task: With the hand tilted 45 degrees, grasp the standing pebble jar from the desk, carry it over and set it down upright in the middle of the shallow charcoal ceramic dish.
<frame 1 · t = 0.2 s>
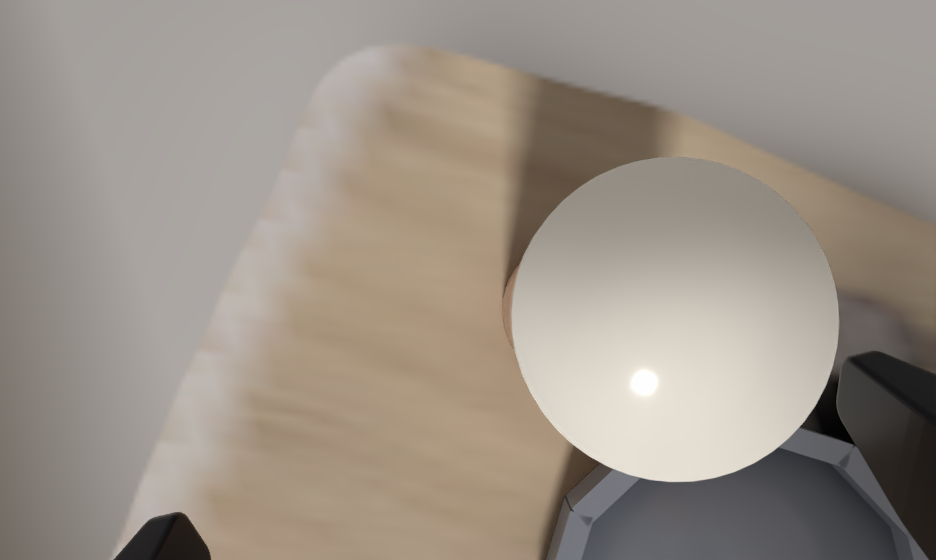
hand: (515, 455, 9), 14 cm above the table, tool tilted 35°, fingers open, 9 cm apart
pebble jar: (575, 310, 23), on the table
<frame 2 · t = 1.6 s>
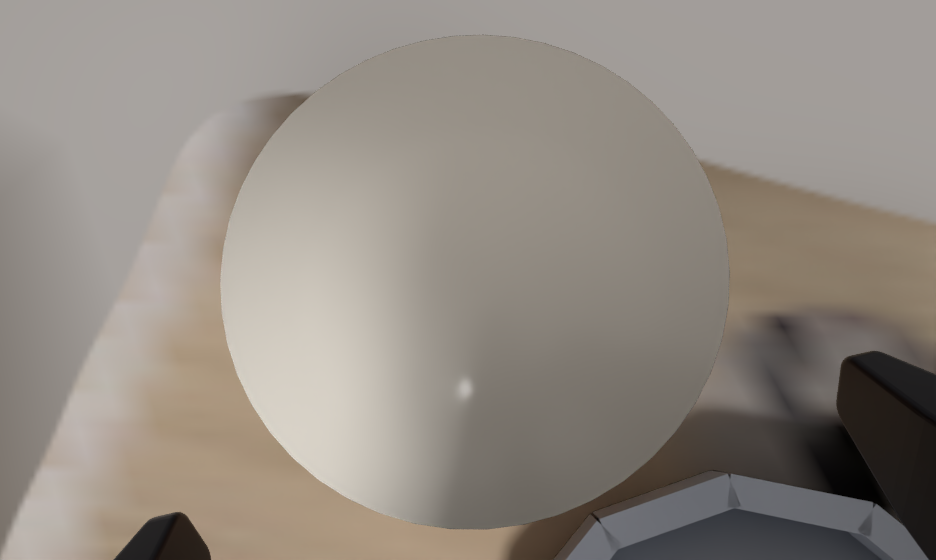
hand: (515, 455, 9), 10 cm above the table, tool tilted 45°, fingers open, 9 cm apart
pebble jar: (495, 368, 19), on the table
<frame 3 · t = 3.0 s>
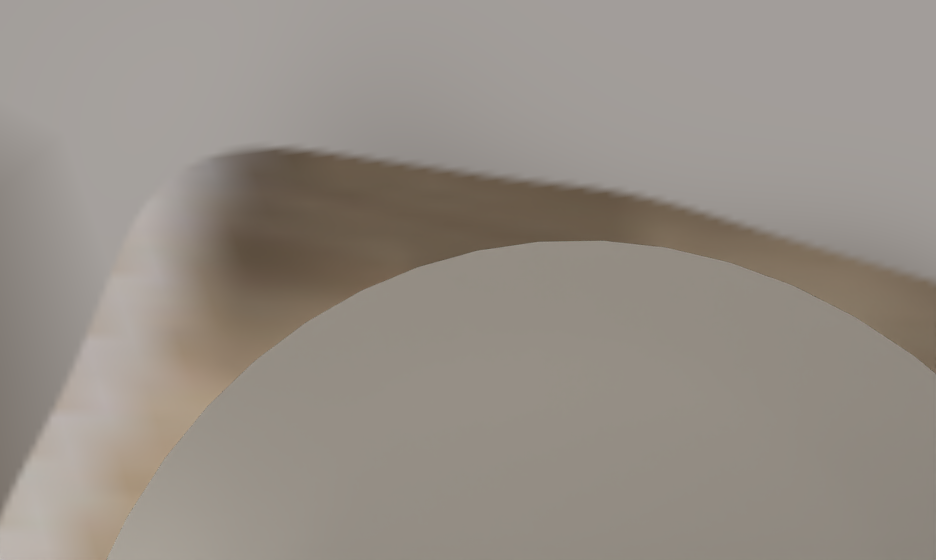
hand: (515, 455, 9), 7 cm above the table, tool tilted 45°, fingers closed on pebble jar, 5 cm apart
pebble jar: (527, 505, 15), on the table, touching gripper
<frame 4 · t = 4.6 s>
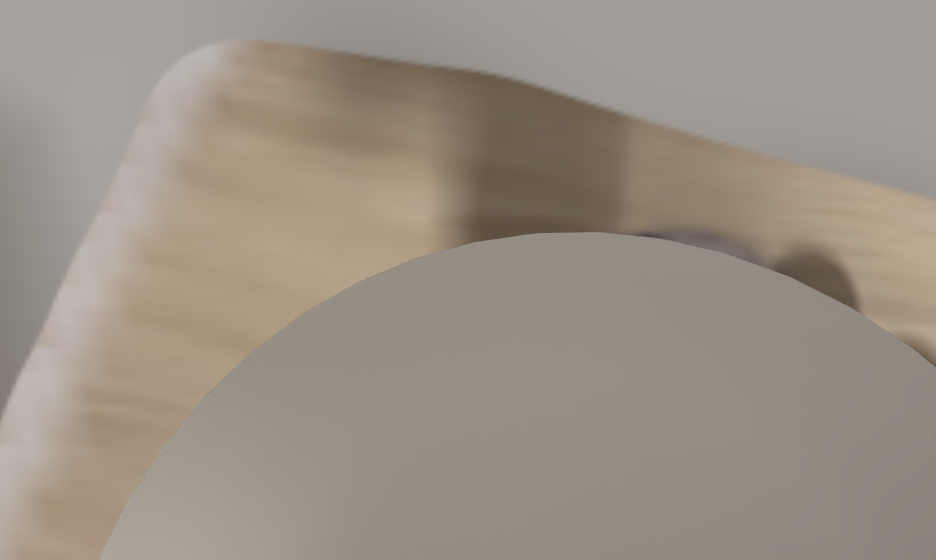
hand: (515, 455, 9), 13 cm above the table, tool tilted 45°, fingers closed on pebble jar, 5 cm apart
pebble jar: (526, 503, 15), point 6 cm above the table, touching gripper
when the fingers open (8 cm above the table, at t = 6.5 s): pebble jar stays where it is, resting on bowl.
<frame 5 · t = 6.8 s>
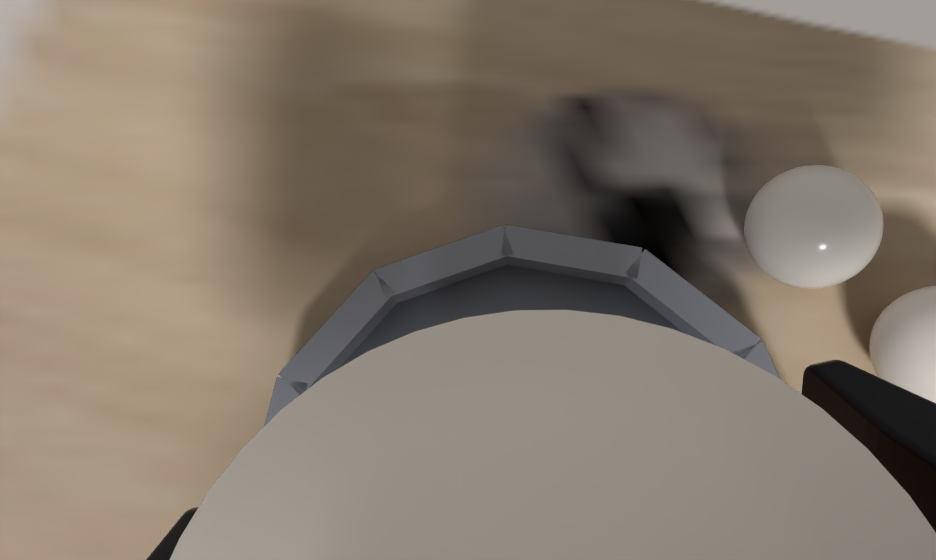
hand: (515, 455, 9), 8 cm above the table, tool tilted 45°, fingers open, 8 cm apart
pebble B: (785, 244, 17), on the table
pebble jar: (527, 504, 16), point 1 cm above the table, touching bowl
bowl: (526, 498, 16), on the table
pebble A: (907, 356, 17), on the table
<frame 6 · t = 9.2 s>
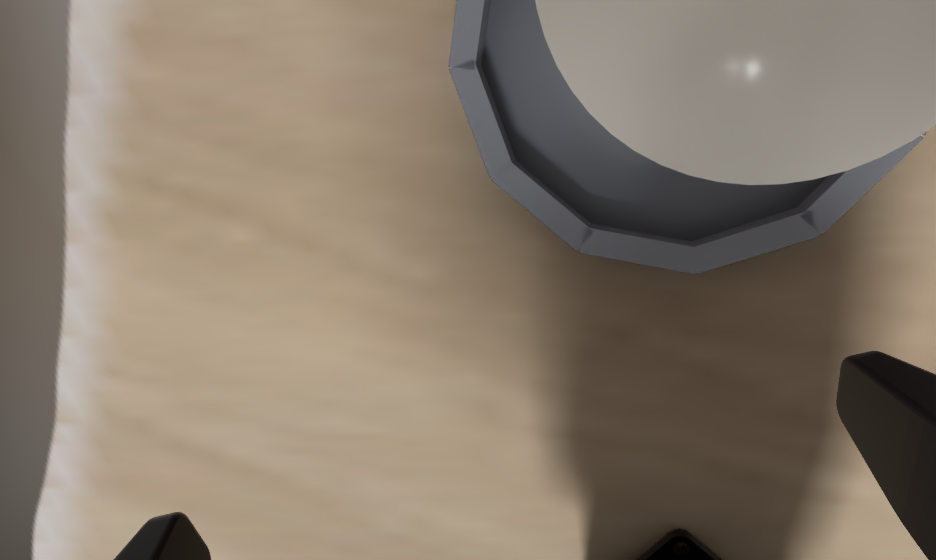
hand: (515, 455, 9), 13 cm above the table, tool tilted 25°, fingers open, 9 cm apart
pebble jar: (683, 40, 19), point 1 cm above the table, touching bowl
bowl: (681, 40, 19), on the table
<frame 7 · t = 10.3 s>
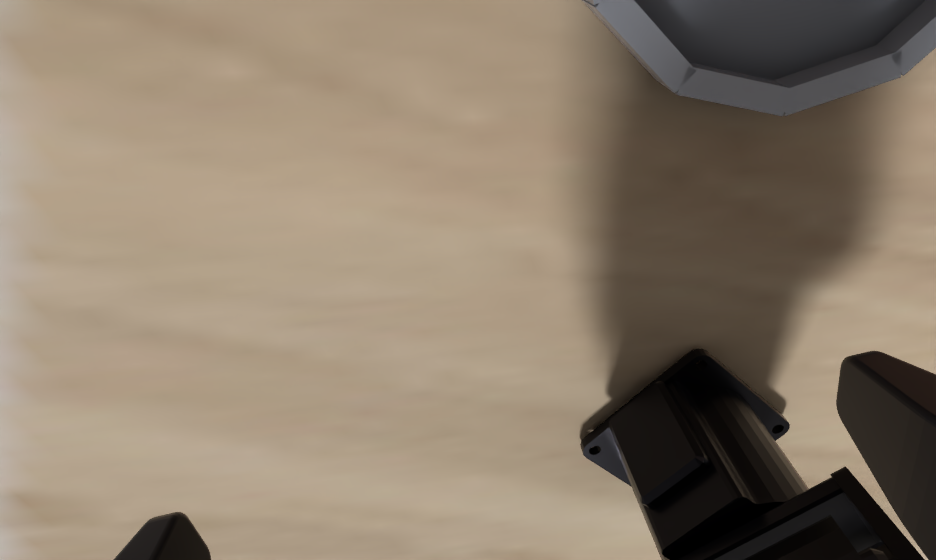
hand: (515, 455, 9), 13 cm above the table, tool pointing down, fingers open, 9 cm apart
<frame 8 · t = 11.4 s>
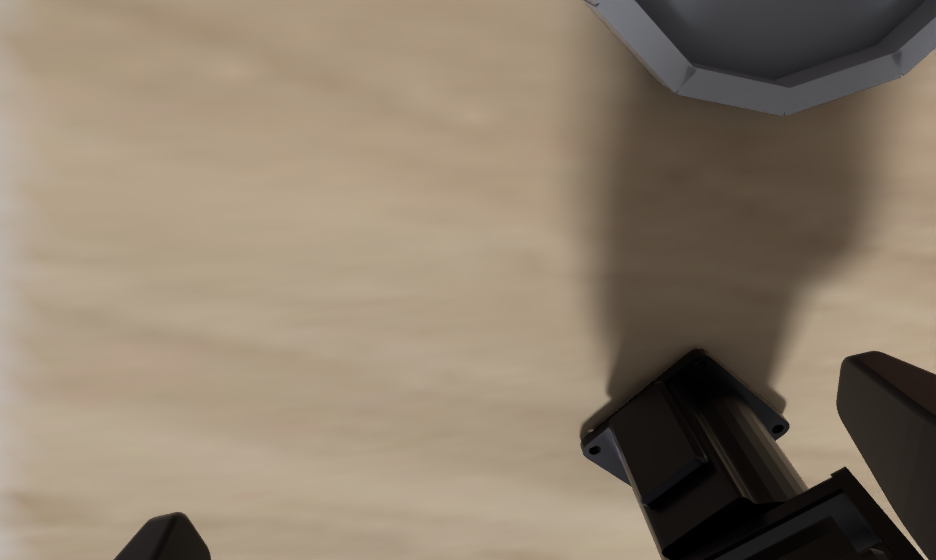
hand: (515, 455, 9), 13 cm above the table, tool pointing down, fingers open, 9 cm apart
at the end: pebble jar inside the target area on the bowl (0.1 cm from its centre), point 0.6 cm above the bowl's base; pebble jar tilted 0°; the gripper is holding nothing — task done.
